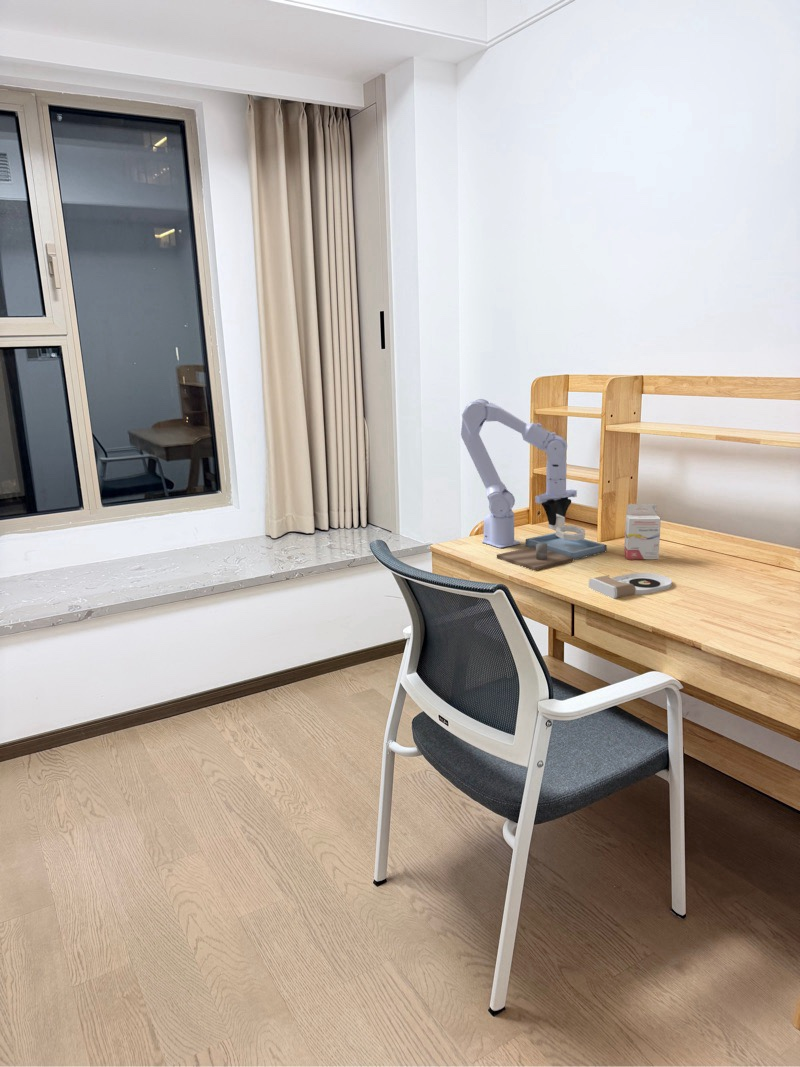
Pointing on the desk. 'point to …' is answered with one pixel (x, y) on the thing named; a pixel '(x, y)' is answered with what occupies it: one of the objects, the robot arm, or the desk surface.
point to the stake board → (535, 557)
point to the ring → (567, 529)
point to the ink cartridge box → (642, 532)
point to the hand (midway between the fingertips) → (556, 523)
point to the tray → (568, 546)
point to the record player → (630, 584)
